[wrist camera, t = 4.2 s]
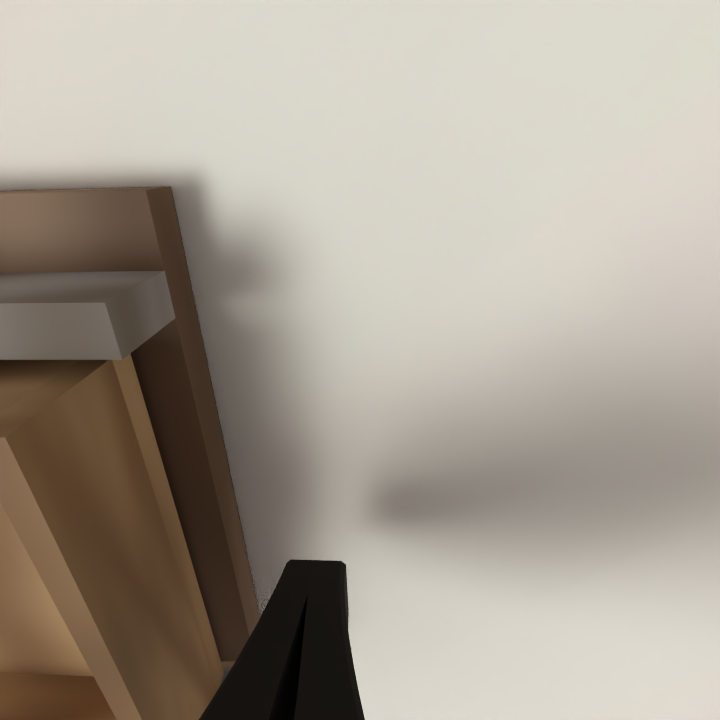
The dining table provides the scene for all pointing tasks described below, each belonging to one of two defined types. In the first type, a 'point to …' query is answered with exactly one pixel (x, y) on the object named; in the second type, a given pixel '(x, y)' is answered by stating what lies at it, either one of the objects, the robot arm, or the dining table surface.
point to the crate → (93, 555)
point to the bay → (133, 354)
